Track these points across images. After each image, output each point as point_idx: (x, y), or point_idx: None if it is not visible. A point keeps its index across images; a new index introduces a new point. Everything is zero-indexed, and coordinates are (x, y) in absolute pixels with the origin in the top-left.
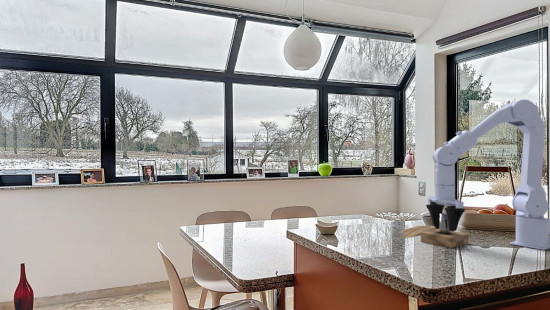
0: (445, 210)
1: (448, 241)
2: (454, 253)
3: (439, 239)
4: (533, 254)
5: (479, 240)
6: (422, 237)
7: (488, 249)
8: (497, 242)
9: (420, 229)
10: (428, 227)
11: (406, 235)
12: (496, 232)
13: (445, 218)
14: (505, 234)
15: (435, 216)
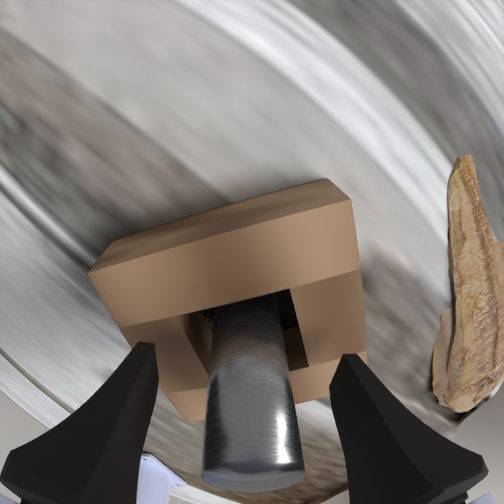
0: (87, 480)
1: (113, 254)
2: (12, 170)
3: (175, 235)
4: (31, 404)
5: None
6: (324, 190)
7: (78, 366)
8: (188, 451)
9: (483, 355)
10: (470, 391)
11: (479, 226)
12: (308, 492)
13: (208, 433)
14: (278, 495)
15: (367, 427)
